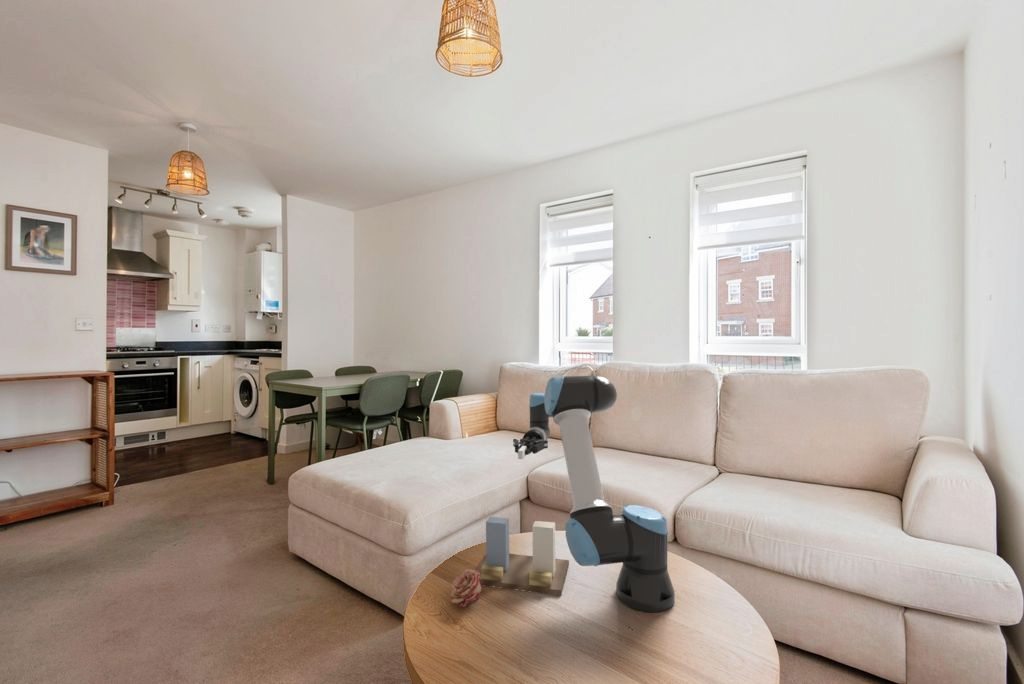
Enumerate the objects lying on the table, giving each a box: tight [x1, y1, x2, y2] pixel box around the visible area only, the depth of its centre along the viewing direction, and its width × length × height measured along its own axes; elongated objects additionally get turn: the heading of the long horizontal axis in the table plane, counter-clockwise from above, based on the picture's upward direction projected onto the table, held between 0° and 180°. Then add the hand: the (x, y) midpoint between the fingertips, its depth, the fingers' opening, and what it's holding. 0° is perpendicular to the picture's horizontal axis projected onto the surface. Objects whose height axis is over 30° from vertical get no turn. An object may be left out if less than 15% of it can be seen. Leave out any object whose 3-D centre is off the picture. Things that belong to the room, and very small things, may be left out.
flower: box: [449, 568, 483, 608], centre depth 121 cm, size 10×9×8 cm
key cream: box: [531, 520, 557, 577], centre depth 133 cm, size 6×4×14 cm
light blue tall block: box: [485, 516, 510, 571], centre depth 136 cm, size 6×4×14 cm
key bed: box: [475, 553, 570, 596], centre depth 135 cm, size 26×17×4 cm, turn 76°
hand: (520, 454), depth 148 cm, fingers closed
